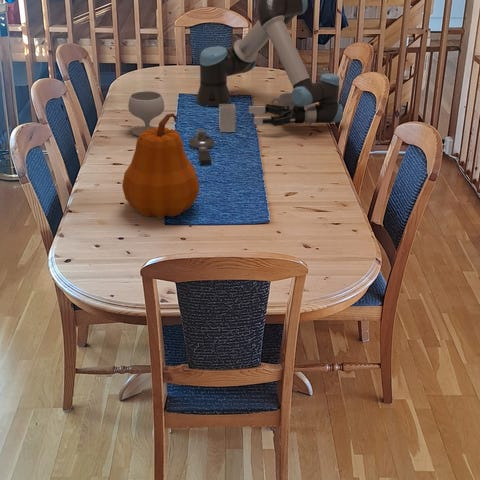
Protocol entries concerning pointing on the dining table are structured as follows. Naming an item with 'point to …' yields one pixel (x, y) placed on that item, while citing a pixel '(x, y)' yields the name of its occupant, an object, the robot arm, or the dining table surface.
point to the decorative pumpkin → (160, 174)
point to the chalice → (145, 108)
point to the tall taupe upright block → (227, 118)
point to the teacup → (284, 100)
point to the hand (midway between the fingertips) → (251, 115)
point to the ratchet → (202, 146)
